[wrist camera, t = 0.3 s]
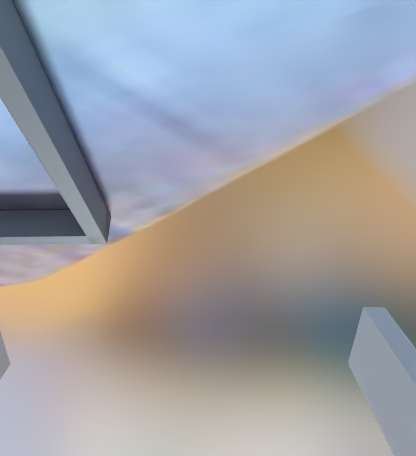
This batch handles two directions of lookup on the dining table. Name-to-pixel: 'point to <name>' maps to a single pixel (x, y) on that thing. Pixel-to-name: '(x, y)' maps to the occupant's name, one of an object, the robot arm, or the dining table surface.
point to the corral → (45, 148)
